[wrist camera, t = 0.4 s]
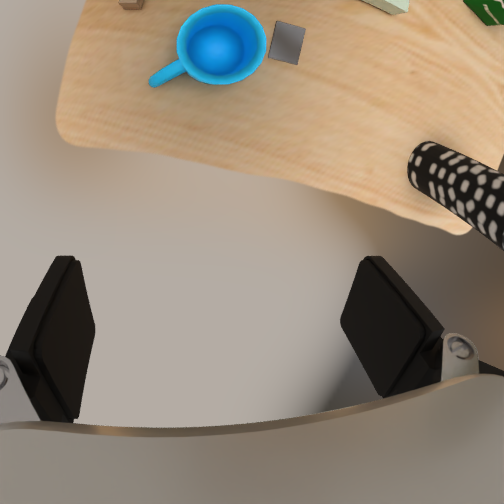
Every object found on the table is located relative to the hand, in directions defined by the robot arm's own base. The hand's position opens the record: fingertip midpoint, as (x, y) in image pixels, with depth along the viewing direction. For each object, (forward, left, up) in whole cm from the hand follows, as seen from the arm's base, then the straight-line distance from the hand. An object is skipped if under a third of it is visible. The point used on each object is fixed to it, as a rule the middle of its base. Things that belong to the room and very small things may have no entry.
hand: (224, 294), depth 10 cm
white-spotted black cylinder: (-3, +35, -30) cm, 46 cm away
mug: (-9, -1, -30) cm, 31 cm away
